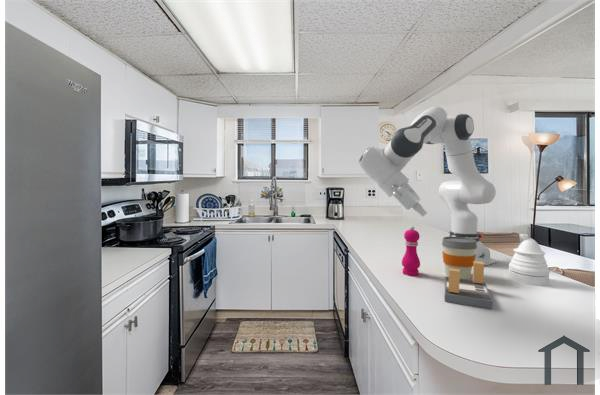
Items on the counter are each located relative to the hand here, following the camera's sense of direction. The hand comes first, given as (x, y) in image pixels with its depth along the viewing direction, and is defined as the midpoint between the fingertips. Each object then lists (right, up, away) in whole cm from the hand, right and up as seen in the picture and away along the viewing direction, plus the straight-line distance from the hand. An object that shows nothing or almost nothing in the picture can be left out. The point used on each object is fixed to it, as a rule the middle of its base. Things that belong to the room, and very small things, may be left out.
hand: (425, 214), depth 102 cm
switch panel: (+15, -27, +2) cm, 31 cm away
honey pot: (+48, -27, +18) cm, 58 cm away
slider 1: (+8, -25, -3) cm, 26 cm away
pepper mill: (+4, -26, +25) cm, 36 cm away
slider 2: (+21, -24, +7) cm, 33 cm away
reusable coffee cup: (+23, -26, +23) cm, 42 cm away
